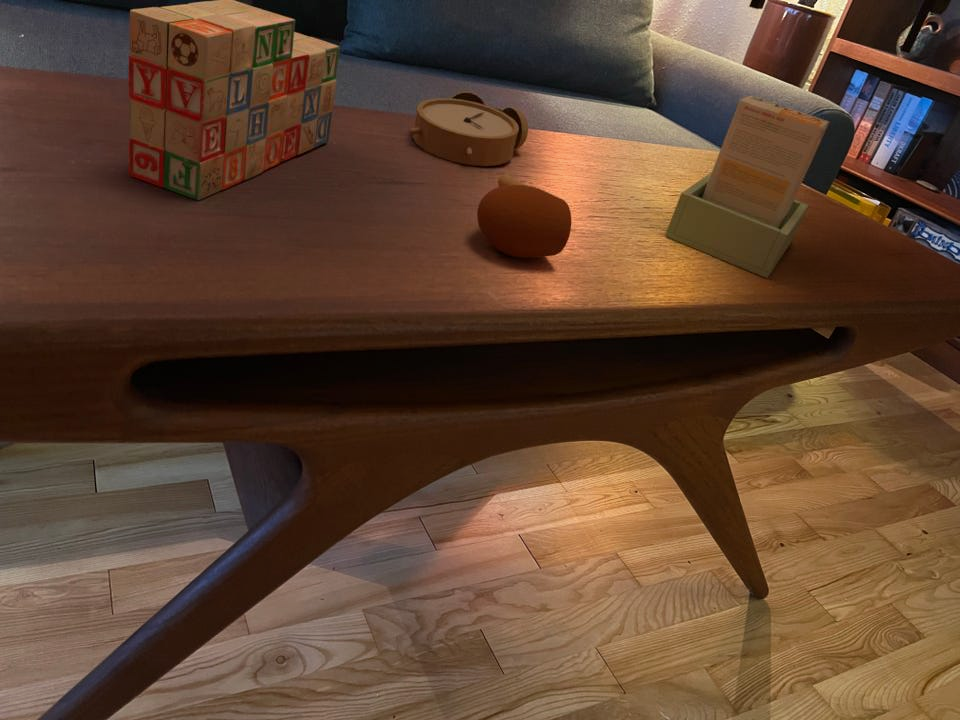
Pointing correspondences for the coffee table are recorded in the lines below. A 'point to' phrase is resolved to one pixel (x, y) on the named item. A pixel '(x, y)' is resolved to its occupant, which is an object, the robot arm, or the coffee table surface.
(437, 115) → the alarm clock
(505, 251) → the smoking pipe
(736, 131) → the supplement box
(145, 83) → the stack of blocks
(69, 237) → the coffee table surface
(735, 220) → the box
